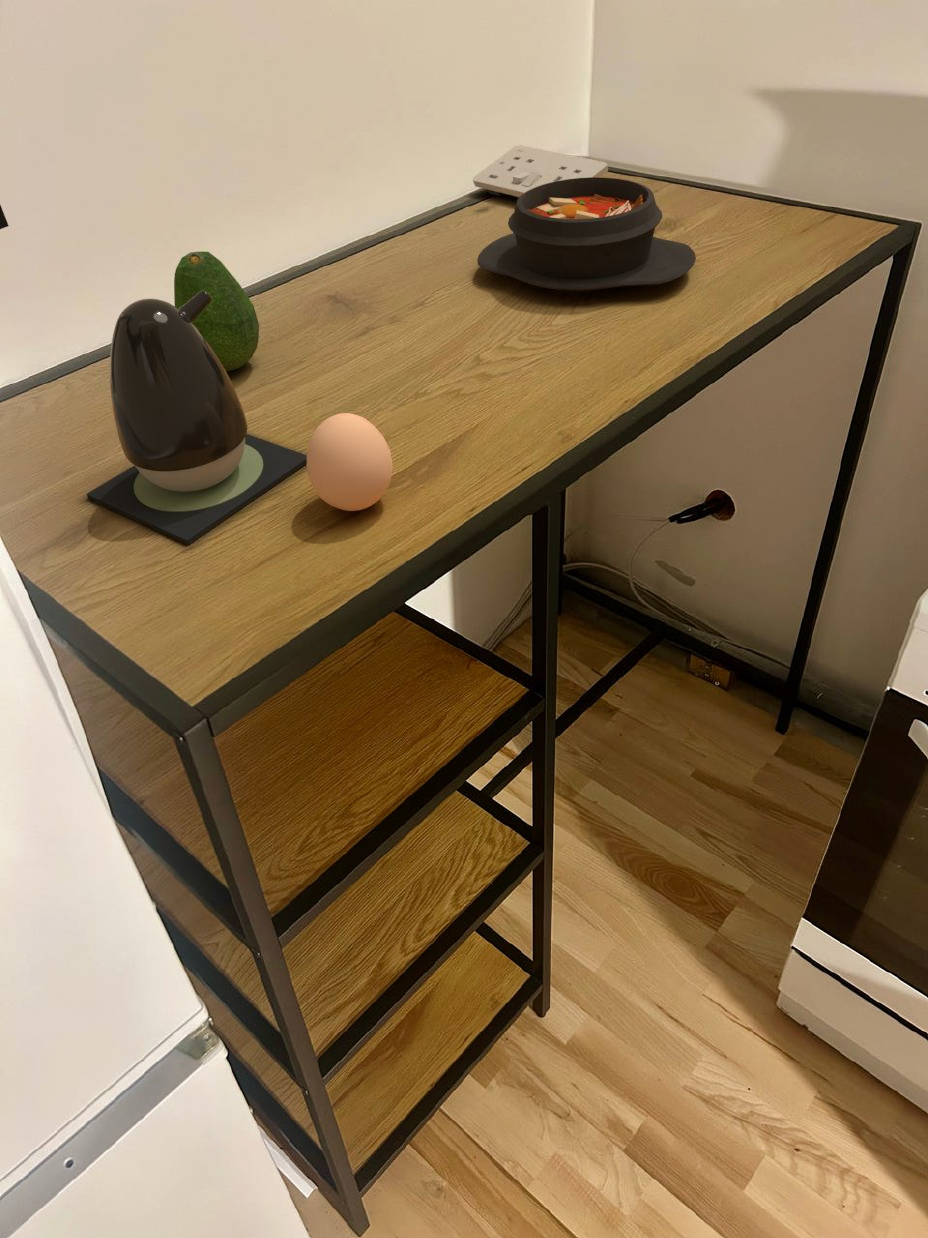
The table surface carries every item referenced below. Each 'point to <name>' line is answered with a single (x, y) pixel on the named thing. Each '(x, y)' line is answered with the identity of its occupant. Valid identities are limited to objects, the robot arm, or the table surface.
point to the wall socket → (534, 170)
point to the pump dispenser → (173, 397)
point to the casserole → (587, 238)
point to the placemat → (199, 492)
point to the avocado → (219, 308)
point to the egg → (349, 462)
